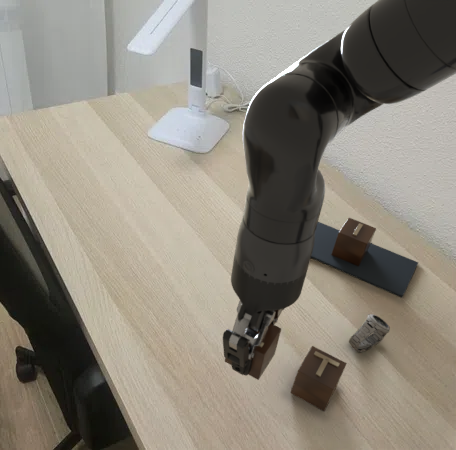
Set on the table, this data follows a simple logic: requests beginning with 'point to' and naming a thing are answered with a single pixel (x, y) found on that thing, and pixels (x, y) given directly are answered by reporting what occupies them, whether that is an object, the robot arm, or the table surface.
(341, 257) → the tile
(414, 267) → the mat
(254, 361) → the tile
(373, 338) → the silver wristwatch
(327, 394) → the tile
